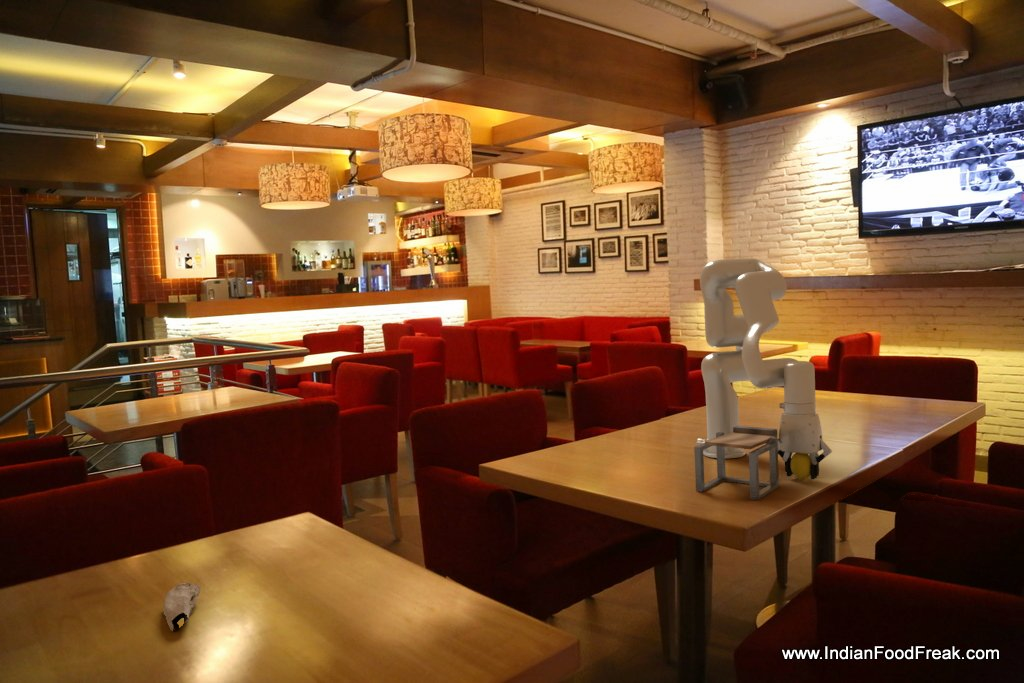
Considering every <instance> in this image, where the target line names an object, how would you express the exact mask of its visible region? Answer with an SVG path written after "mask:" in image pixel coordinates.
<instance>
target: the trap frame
mask: <svg viewBox="0 0 1024 683" xmlns="http://www.w3.org/2000/svg"><path fill="white" fill-rule="evenodd" d="M722 435H724V433H723V432H718V433H716V437H719V436H722ZM711 446H713V445H705V443H702V444H700V445H698V446H697V445H695V446H694V467H695V468H694V469H695V470H694V474H695V491H696V492H697V491H700V492H699V493H703V492H705V491H707V490H709V489H711V488H713V487H714V485H715V486H716V485H718V484H720V483H722V482H730V483H736V482H737V484H743V483H745V485H749V490H750V491H749V495H750V496H749V497H750V500H751V501H756V500H757V501H759V500H760V499H762V498H763V497H765V496H766V494H767V495H768V494H770V493H771V492H773V491H774V490H776V489H778V488H779V487H780V479H779V477H780V476H779V454H778V440H777V437H770V438H769V443H767V444H762V445H760V447H759V446H758V448H757V447H756V448H754V449H753V450H751V451H750V452H748V460H749V462H748V468H749V479H746V478H742V477H741V478H739V477H733V476H727V472H726V459H725V447H723V446H716V449H717V458H716V468H717V469H716V470H717V471H716V472H717V477H715V478H713V479H711V480H710V481H709V480H708V482H706V483H705V465H704V463H705V462H704V455H703V450H704V449H707V448H709V447H711ZM768 451H769V452H768ZM765 453H768V455H769V456H768V457H769V481H762V480H760V476H759V475H760V474H759V471H760V470H759V469H760V468H759V456H761V455H763V454H765ZM712 486H713V487H712ZM765 486H767V487H765ZM778 486H779V487H778ZM710 487H711V488H710ZM760 487H763V488H762V489H760ZM777 487H778V488H777ZM708 488H709V489H708ZM775 488H776V489H775ZM706 489H707V490H706ZM704 490H705V491H704ZM772 490H773V491H772ZM702 491H703V492H702ZM769 492H770V493H769ZM761 497H762V498H761ZM758 499H759V500H758Z"/></svg>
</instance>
